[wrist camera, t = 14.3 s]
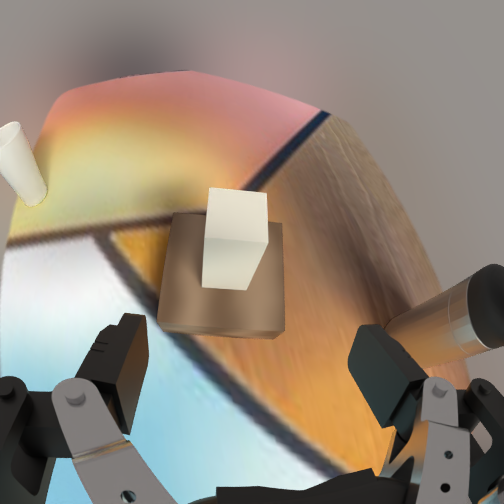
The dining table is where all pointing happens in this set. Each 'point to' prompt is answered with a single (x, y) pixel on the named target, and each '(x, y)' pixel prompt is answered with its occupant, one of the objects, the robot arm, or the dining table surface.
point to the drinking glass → (20, 165)
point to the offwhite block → (234, 237)
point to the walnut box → (219, 300)
